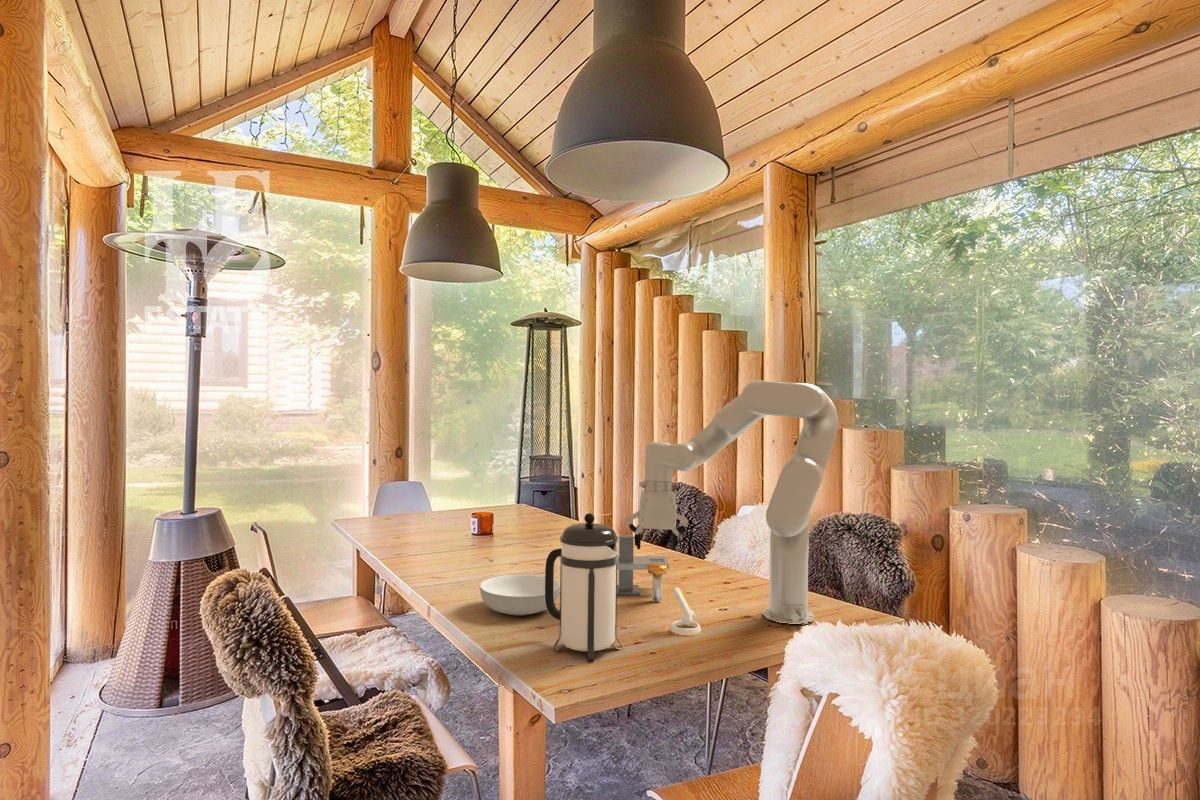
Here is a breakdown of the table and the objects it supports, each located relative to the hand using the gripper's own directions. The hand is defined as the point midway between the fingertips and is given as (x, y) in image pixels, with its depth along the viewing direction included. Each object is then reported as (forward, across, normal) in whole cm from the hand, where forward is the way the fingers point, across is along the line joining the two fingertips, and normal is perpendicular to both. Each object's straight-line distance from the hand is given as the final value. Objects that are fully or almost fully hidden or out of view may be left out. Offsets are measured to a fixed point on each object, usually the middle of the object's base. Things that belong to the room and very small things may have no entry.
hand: (655, 548), depth 186 cm
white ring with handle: (+14, +5, -24) cm, 29 cm away
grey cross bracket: (+15, -3, +10) cm, 18 cm away
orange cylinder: (+14, +1, 0) cm, 14 cm away
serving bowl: (+16, -36, -8) cm, 40 cm away
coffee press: (+15, -20, -36) cm, 44 cm away
